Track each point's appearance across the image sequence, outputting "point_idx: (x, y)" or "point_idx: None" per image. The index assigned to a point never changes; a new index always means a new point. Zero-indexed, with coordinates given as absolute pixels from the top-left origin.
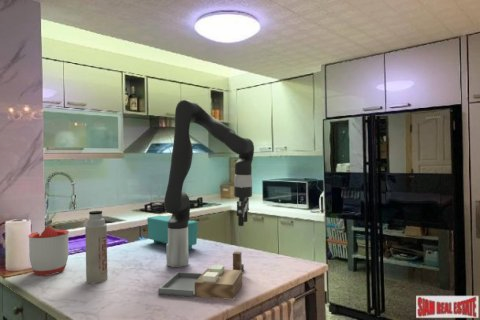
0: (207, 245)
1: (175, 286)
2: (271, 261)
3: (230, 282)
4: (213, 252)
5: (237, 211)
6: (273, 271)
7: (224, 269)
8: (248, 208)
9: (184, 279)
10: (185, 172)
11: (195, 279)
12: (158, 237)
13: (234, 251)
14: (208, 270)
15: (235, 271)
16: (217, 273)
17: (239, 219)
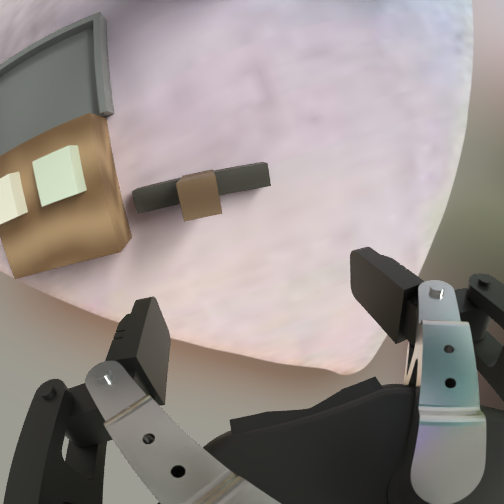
0: (446, 11)
1: (27, 76)
2: (375, 246)
3: (21, 265)
4: (404, 28)
5: (29, 431)
6: (279, 287)
7: (100, 182)
8: (474, 348)
9: (78, 55)
10: None
11: (87, 83)
12: None
13: (214, 175)
14: (69, 131)
15: (98, 234)
16: (10, 219)
17: (111, 357)
